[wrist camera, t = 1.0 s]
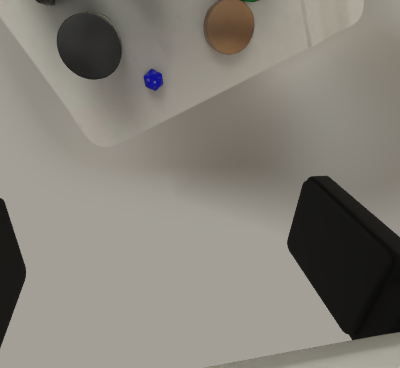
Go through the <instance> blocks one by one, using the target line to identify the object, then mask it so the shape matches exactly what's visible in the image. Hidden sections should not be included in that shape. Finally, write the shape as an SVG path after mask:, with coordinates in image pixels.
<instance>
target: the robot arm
mask: <svg viewBox="0 0 400 368" xmlns="http://www.w3.org/2000/svg"><path fill="white" fill-rule="evenodd" d="M287 245H288V249H289V251H290V252H291V254H292V255H293V257H294V258H295V260H296V262H297V263H298V265H299V266H300V268H301V269H302V271H303V272H304V273H305V275H306V277H307V278H308V280H309V281H310V283H311V284H312V286H313V287H314V288H315V290H316V292H317V293H318V295H319V296H320V298H321V299H322V301H323V302H324V304H325V305H326V307H327V308H328V310H329V311H330V313H331V314H332V316H333V317H334V319H335V320H336V322H337V323H338V325H339V326H340V328H341V329H342V331H343V332H345V333H346V334H349V335H350V337H351V338H352V341H346V342H341V343H335V344H330V345H325V346H319V347H313V348H308V349H303V350H297V351H292V352H286V353H281V354H276V355H270V356H265V357H259V358H254V359H249V360H244V361H238V362H233V363H227V364H223V365H217V366H212V367H206V368H400V237H399V236H398V235H397V234H395V233H394V232H393V231H392V230H391V229H389V228H388V227H387V226H386V225H385V224H384V223H382V222H381V221H380V220H379V219H378V218H377V217H375V216H374V215H373V214H372V213H371V212H369V211H368V210H367V209H366V208H365V207H364V206H362V205H361V204H360V203H359V202H358V201H356V200H355V199H354V198H353V197H352V196H351V195H350V194H348V193H347V192H346V191H345V190H344V189H342V188H341V187H340V186H339V185H338V184H337V183H336V182H334V181H333V180H332V179H331V178H330V177H328V176H312V177H309V178H308V179H307V181H305V182H304V183H303V185H302V189H301V193H300V197H299V200H298V204H297V207H296V211H295V215H294V218H293V222H292V226H291V229H290V233H289V237H288V241H287ZM25 277H26V268H25V264H24V261H23V258H22V255H21V252H20V249H19V245H18V242H17V239H16V236H15V233H14V230H13V227H12V224H11V221H10V217H9V214H8V211H7V208H6V205H5V202H4V200H3V199H1V198H0V347H1V344H2V342H3V339H4V336H5V333H6V331H7V328H8V325H9V322H10V320H11V317H12V314H13V311H14V309H15V306H16V303H17V300H18V298H19V295H20V292H21V289H22V287H23V284H24V281H25Z"/></svg>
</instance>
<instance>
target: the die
mask: <svg viewBox="0 0 400 368" xmlns="http://www.w3.org/2000/svg"><path fill="white" fill-rule="evenodd" d="M144 81H145V86H146V87H148V88H150V89H152V90H154V91H156V90H157V89H158V88H159V87H160V86H161V85H162V84H163V79H162V74H161V73H159V72H157V71H155V70H153V69H151V70H150V71H149V72H148V73H147V74H146V75H145V76H144Z"/></svg>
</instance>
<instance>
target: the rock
mask: <svg viewBox="0 0 400 368" xmlns="http://www.w3.org/2000/svg"><path fill="white" fill-rule="evenodd" d="M36 1H37V2H39V3H42V4H44V5H54V4H55V3H54V2H55V0H36Z"/></svg>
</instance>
